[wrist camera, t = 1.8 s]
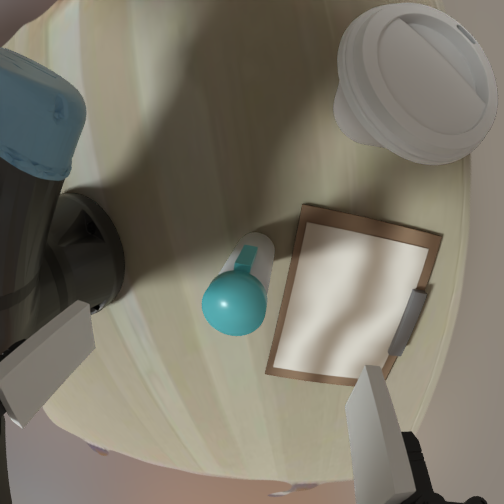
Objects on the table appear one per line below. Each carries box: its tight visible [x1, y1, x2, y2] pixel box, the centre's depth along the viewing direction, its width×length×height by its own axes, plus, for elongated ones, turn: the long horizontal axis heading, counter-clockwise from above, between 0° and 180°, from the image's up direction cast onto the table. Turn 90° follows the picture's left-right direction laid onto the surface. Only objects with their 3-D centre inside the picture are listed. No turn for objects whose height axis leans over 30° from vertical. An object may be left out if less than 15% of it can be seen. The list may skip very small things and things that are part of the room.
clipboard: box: [265, 204, 442, 386], centre depth 29 cm, size 15×20×2 cm
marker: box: [202, 232, 275, 336], centre depth 23 cm, size 4×4×13 cm
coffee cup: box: [333, 3, 498, 165], centre depth 17 cm, size 10×10×15 cm
